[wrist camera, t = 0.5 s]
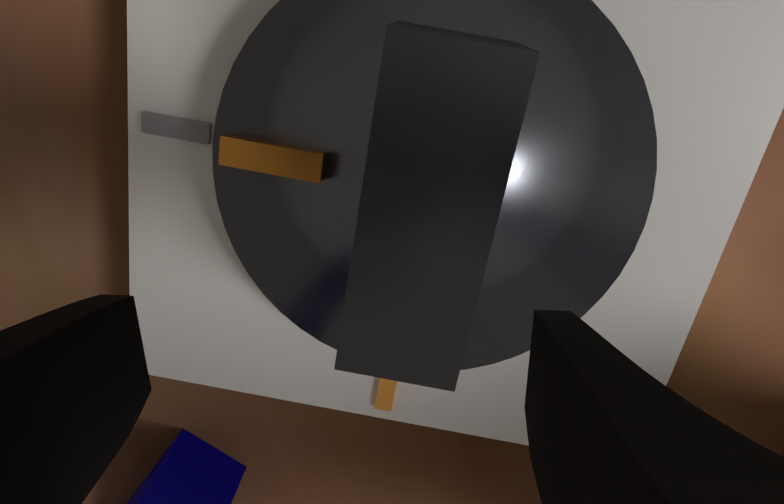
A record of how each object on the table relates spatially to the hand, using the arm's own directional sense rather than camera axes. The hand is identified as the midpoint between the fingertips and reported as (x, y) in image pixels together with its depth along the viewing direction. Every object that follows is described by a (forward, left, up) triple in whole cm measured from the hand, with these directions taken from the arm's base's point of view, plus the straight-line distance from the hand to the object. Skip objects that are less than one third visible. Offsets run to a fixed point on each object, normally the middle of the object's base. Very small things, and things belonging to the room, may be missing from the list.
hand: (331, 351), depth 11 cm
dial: (-1, -1, -8) cm, 8 cm away
